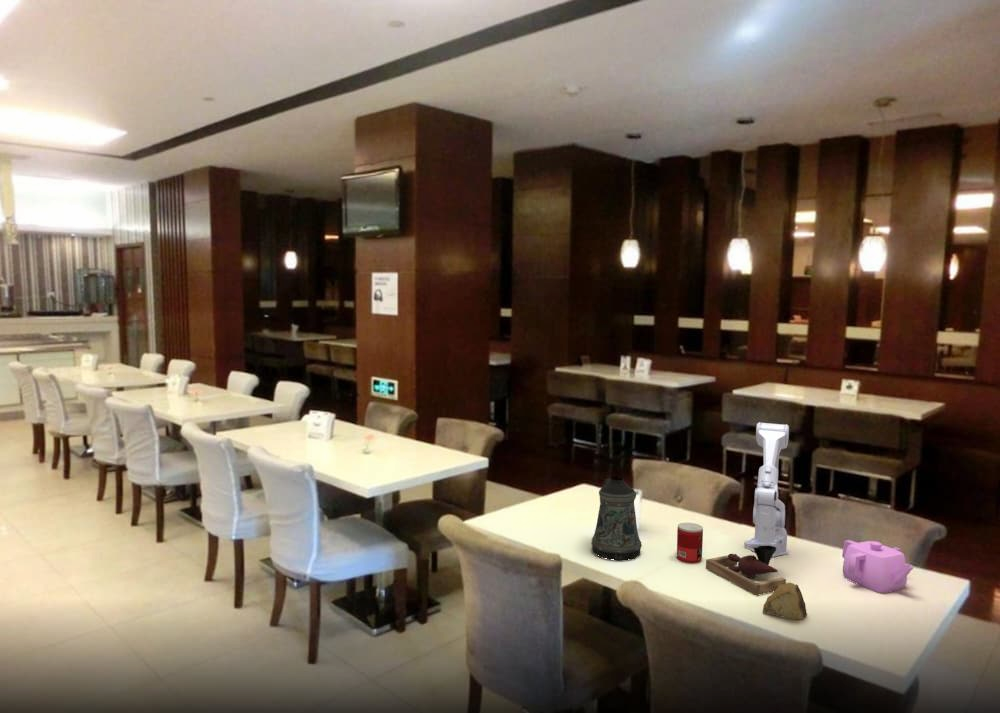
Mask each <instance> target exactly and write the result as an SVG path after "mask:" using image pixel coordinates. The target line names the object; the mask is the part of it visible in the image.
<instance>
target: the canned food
mask: <svg viewBox="0 0 1000 713" xmlns="http://www.w3.org/2000/svg"><path fill="white" fill-rule="evenodd" d="M703 528H704V527H703V526H702V525H700V524H698V523H694V522H679V523H678V524H677V531H676V533H677V534H676V535H677V536H676V537H677V538H676V557H677V559H678V560H679V561H680V562H683V563H687V564H697V563H700V562H701V561H702V559H703V543H704V542H703V541H704V540H703V539H704V538H703V536H704V529H703Z"/></svg>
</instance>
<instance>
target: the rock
mask: <svg viewBox="0 0 1000 713" xmlns="http://www.w3.org/2000/svg"><path fill="white" fill-rule="evenodd" d="M771 593H772V594H770V595H769V596H767V598H766V601H765V602H764V603H763V607H762V613H763V614H766V615H772V616H776V615H778V616H777V617H782V616H783V618H787V617H790V618H789V619H795V620H803V619H805V618H806V617H807V615H808V613H807V607H806V602H805V599H804V597H803V593H802V591H801V589H800V586H799V584H795V583H792V582H786V583H785V584H780V585H779V587H778V588H777V589H776V590H775V591H774V592H771Z"/></svg>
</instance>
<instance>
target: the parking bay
mask: <svg viewBox="0 0 1000 713" xmlns="http://www.w3.org/2000/svg"><path fill="white" fill-rule="evenodd" d="M728 555H729V554H727V555H723V556H717V557H713V558H708V559H705V569H706V570H707V571H709V572H711V573H713V574H715V575H716V574H717V576H719V578H722V579H724V580H726V581H728V582H729V581H730V583H731V584H733V585H735V586H737V587H739V588H741V589H742V588H743V590H744V589H745V591H746V592H748V593H750V594H752V595H754V596H755V595H757V596H760V595H759V594H762V595H764V594H763V593H766V594H769V593H768V592H770V593H773V592H772V591H775V590H776V589H777V588H778V587H779V585H780V584H785V583H787V579H786V578H785V577H783V576H781V577H777V578H773V579H769V580H767V579H766V580H763V581H758V582H756V581H754V580H752V579H750V578H749V577H747V576H745V575H743V574H740V573H739V572H737V573H736V572H734V571H733V570H731V569H729V568H728V567H729V566H738V562H733V561H731V560H729V558H728Z"/></svg>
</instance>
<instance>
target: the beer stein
mask: <svg viewBox="0 0 1000 713" xmlns="http://www.w3.org/2000/svg"><path fill="white" fill-rule="evenodd" d="M598 496H599V508H598V514H597V515H598V516H597V522H596V526H595V529H594V534H593V536H592V538H591V547H592V551H593V553H595V554H597V555H599V556H601V557H603V558H607V559H614V560H628V559H634V560H636V559H637V558H638V557H639V556H640V555H641V549H642V541H641V539H640V535H639V532H638V531H639V530H638V526H637V516H636V508H635V500H636V498H637V492H636V491H635V489H634V488H633V487H631V486H630V485H629V484H628V483H627V482H626V481H625V479H624V478H623V477H621V476H615V475H614V476H613V475H612V476H611V477H610V478H605V479H604V481H603V485H602V487H601V488H600V489H599V490H598ZM595 554H594V555H595ZM597 555H596V556H597ZM637 556H638V557H637ZM601 557H600V558H601ZM636 557H637V558H636ZM603 558H602V559H603ZM635 558H636V559H635ZM607 559H606V560H607ZM628 561H629V560H628Z"/></svg>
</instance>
